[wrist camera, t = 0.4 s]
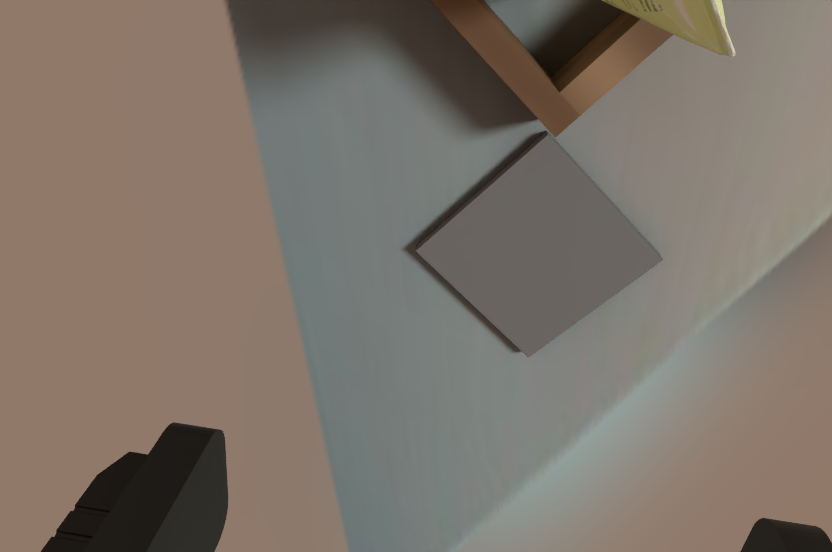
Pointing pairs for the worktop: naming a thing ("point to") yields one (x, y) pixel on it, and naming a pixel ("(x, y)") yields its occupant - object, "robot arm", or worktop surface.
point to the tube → (685, 20)
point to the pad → (538, 247)
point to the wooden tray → (576, 80)
